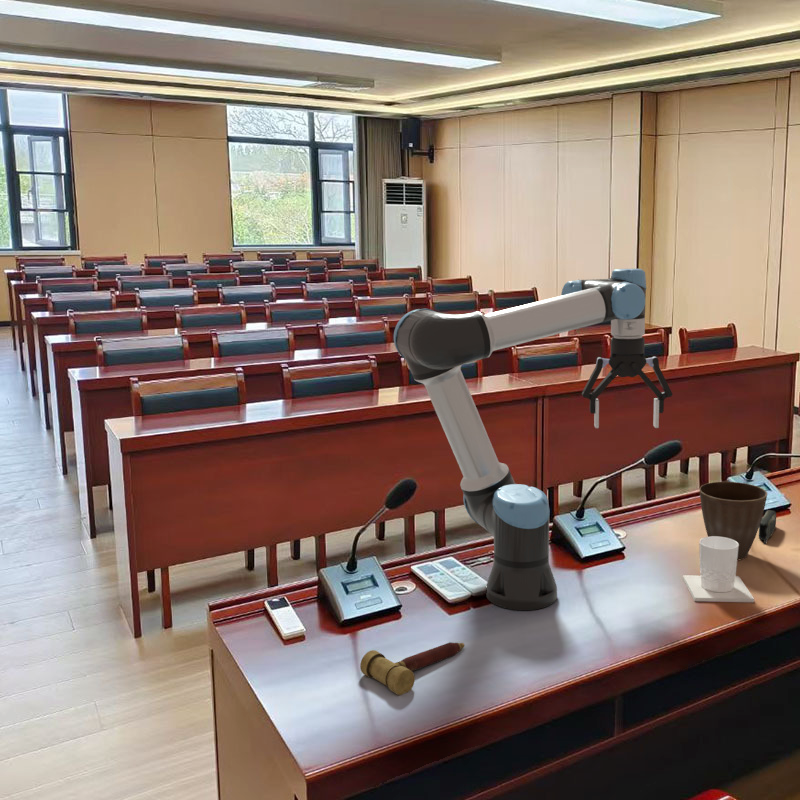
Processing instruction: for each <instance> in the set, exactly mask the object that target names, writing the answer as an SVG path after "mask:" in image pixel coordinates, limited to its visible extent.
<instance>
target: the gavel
mask: <svg viewBox="0 0 800 800" xmlns="http://www.w3.org/2000/svg"><path fill="white" fill-rule="evenodd" d="M464 648H465V643H464V642H460V643H459V642H447V643H444V644H442V645H438V646H436V647H432V648H430V649H428V650H424V651H421V652H419V653H416V654H413V655H409V656H408V657H407V656H406V657H405V658H403V659H402V660H400V661H397V662H393V661H391V660H389V659H388V658H386V656H385V655H384V654H382V653H381V652H379V651H377V650H375V649H372V650H369V651H367V652H366V653H365V654H364V655H363V657H362V659H361V660H360V665H359V666H360V667H359V668H360V671H361V674H363V675H364V676H366V677H368V678H370V679H372V678H373V679H375V680H376V681H378V682H379V683H381V684H382V685H384V686H386V687H388V689H389V690H390V691H391V692H392V693H394V694H395V695H397V696H402V695H404V694H406V693H408V692H410V691H411V690H412V689H413V687H414V685H415V680H416V679H415V674H414V671H417V670H420V669H423V668H425V667H427V666H429V665H430V666H431V665H433V664H437V663H439V662H441V661H444V660H446V659H449V658H452V657H454V656H456V655H457V654H458V653H459V652H460V651H461V650H462V649H464Z"/></svg>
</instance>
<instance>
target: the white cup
mask: <svg viewBox="0 0 800 800" xmlns="http://www.w3.org/2000/svg"><path fill="white" fill-rule="evenodd" d="M698 545H699V570H700V571H699V573H700V576H701V586H702V587H703V588H704V589H707V590H709V591H713V592H729V591H731V590H733V589H734V581H735V576H737V566H738V560H737V558H738V548H739V544H738V542H736V541H735V540H733V539H730V538H726V537H719V536H710V537H708V536H705V537H701V538H700V539H699V544H698Z"/></svg>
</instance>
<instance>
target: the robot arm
mask: <svg viewBox="0 0 800 800" xmlns="http://www.w3.org/2000/svg"><path fill="white" fill-rule="evenodd" d="M561 289H562V290H561V295H558V296H555V297H554V296H553V297H551V298H546V299H542V300H538V301H534V302H530V303H526V304H523V305H519V306H514V307H509V308H506V309H502V310H497V311H494V312H490V313H486V314H483V313H481V312H480V311H477V310H476V311H473V312H468V313H463V314H459V313H458V314H453V313H451V314H450V313H443V312H437V311H435V310H433V309H430V308H421V309H420V308H418V309H413V310H411V311H409V312H407V313H405V314H404V315H403V316H402V317H401V318H400V319H399V320H398V321H397V324H396V325H395V328H394V332H393V343H394V347H395V349H396V350H397V352H398V354H399V355H400V356H401V357H402V359H405V361H406V364H407V365H408V368H409V370H410V373H411V375H412V377H413V380H414V381H416V382H418V383H421V384H423V385H424V387H425V389H426V392H427V394H428V395H427V396H428V397H429V399H430V401H431V403H432V407H433V409H434V412H435V414H436V415H437V417H438V420H439V422H440V425H441V428H442V429H443V432H444V433H445V436H446V438H447V441H448V443H449V445H450V448H451V450H452V453H453V455H454V457H455V460H456V462H457V465H458V467H459V469H460V472H461V474H462V479H461V481H460V485H459V487H460V489H461V491H462V493H463V497H462V498H463V499H462V500H463V504H464V508H465V509H466V512H467V513H468V515H469V517H470V518H471V520H473V521H474V522H475V523H476V524H478V525H479V526H481V527H482V528H483V529H485V530H486V531H487V532H488V533H489V534H490V535H491V536H492V537H493V564H492V566H491V570H490V573H489V575H488V576H489V577H488V579H487V583H486V586H487V593H486V592H485V593H486V594H485V595H486V598H487V600H488V601H489V602H490V603H492V604H493V605H495V606H497V607H500V608H504V609H507V610H514V611H515V610H516V611H533V610H534V611H535V610H539V609H545V608H547V607H549V606H551V605H553V604H554V603H555V602H556V601H557V598H558V589H557V583H556V581H555V580H556V579H555V577H554V574H553V570H552V568H551V565H550V557H549V556H550V552H549V551H550V514H551V512H550V510H551V509H550V505H549V499H548V496H547V495H546V494H545V492H544V491H542V490H541V489H539V488H537V487H534V486H529V485H528V484H523V483H522V484H520V483H519V484H518V483H516V482H515V480H514V478H513V476H512V474H511V471H510V470H511V469H509V466H508V465H507V464H506V463H502V462H500V461H499V459H498V457H497V455H496V452H495V449H494V447H493V445H492V442H491V440H490V438H489V436H488V435H489V434H488V433H487V430H486V428H485V425H484V423H483V421H482V418H481V416H480V413H479V411H478V408H477V407H476V403H475V401H474V399H473V396H472V394H471V392H470V389H469V387H468V385H467V382H466V379H465V377H464V375H463V372H462V370H461V369H462V366H463V365H465V364H469V363H473V362H476V361H480V360H484V359H487V358H490V356H491V355H492V353H493V352H494V351H497V350H503V349H505V348H511V347H513V346H517V345H521V344H524V343H529V342H533V341H535V340H536V341H537V340H540V339H543V338H547V337H551V336H556V335H559V334H563V333H566V332H572V331H574V330H577V329H582V328H587V327H590V326H593V325H594V326H595V325H597V324H600V323H606V322H610V335H611V336H612V337H611V339H610V356H609V358H604V357H600V356H598V357H596V362H595V366H594V369H593V371H592V373H591V375H590V377H589V379H588V380H587V382H586V384H585V386H584V388H583V390H582V392H581V395H582V397H583V398H585V399H587V400H589V412H590V414H591V415H592V414H593V415H594V416H593V418H594V419H593V421H594V424H593V425H594V426H593V427H594V428H595V429H599V427H600V400H599V398H598V397H599V396H600V395H601V394H602V392H604V390H605V389H606V388H607V387H608V386H609V385H610V384H611V383H612V381H614V379H616V378H617V377H620V378H626V377H629V378H635V377H637V376H639V377H640V379H642V381H643V382H644V383H645V384H646V385H647V387H648V388H649V389H650V390H651V391H652V392H653V393H654V394H655V396H656V397H655V398H653V417H652V418H653V421H652V423H653V425H652V426H653V427H654V428H655V429H659V427H660V426H659V423H660V421H659V420H660V414H663V413H664V410H665V409H664V408H665V404H664V403H665V399H666V398H671V397H672V396H673V392H672V389H671V388H670V386H669V384H668V382H667V380H666V378H665V376H664V373H663V372H662V370H661V368H660V363H659V362H660V360H659V357H657V356H655V355H654V356H652V357H648V358H646V357H645V345H646V344H645V338H644V336H645V334H646V332H645V331H646V330H645V329H646V328H645V327H646V301H647V300H646V298H647V296H646V295H647V294H646V293H647V278H646V272H645V271H644V269H642V268H616V269H613V270H612V271H611V276H610V278H603V279H602V278H598V279H594V278H593V279H575V280H569V281H567V282H565V283H564V285H563V287H562V288H561ZM646 364H648V366H649V367H650V368H652V369H653V371H654V372H653V373H655V375H656V378H657V379H658V382H659V384H660V386H661V387H662V390H663V391H660V390H659V388H658V387H657V386H656V385H655V384H654V383H653V382H652V380H651V379H650V378H649V377H648V375H647V374H646V373H645V372H644V371H643V370H642V369H643V368H644V367H645V366H647V365H646ZM607 365H609V366H610V368H611V369H610V371H609V372H608V373H607V375H606V376H605V377H604V378H603V379H602V381H600V383H599V384H598V385H597V386H596V387H595V388H594V389H593V387H594V385H595V384H596V382H597V380H598V378H599V375H600V374H601V372H602V370H603V368H605V367H606V366H607ZM592 389H593V391H592Z"/></svg>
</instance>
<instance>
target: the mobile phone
mask: <svg viewBox="0 0 800 800" xmlns="http://www.w3.org/2000/svg"><path fill="white" fill-rule="evenodd" d="M776 526H777V513H776V511H775V510H771V509H767V510H766V511H765V512H764V514H763V516H762V519H761V523H760V526H759V529H758V539H760V540H762V541H763V544H765V545H766V544H767V543H768V540H769V538H770V537H771V536H772V535H773V534H774V532H775V530H776Z"/></svg>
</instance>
